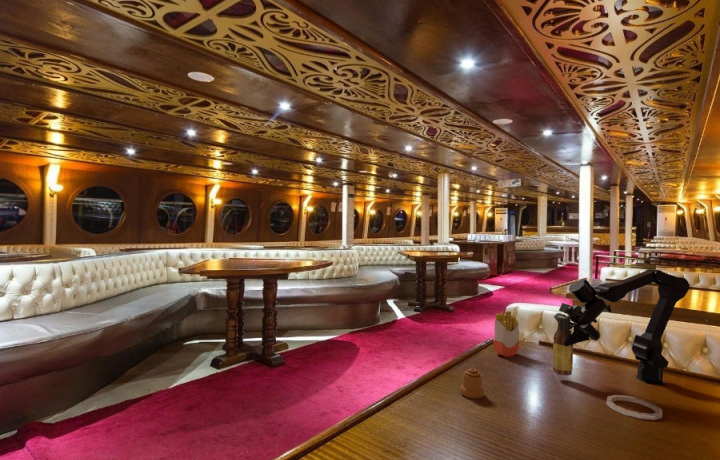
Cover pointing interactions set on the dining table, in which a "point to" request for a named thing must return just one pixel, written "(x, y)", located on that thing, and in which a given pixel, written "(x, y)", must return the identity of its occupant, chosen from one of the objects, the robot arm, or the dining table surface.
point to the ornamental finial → (472, 384)
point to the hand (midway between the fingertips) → (559, 342)
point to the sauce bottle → (562, 348)
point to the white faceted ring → (631, 413)
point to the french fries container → (506, 334)
